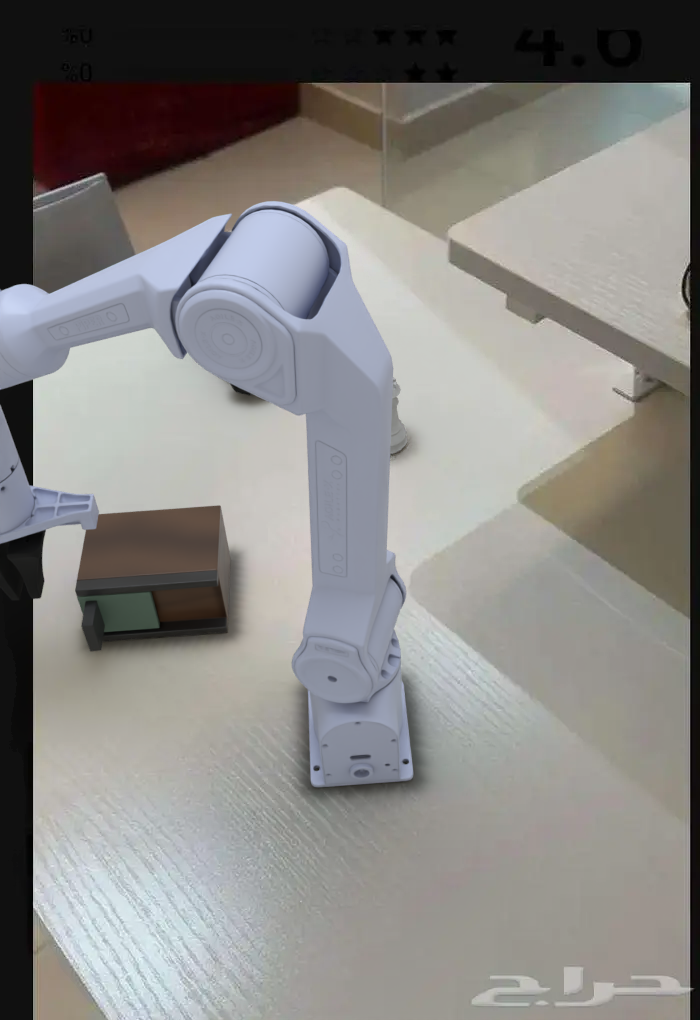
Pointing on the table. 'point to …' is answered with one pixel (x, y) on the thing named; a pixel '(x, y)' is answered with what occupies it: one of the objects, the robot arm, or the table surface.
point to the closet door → (116, 615)
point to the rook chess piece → (396, 423)
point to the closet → (162, 567)
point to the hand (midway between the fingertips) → (28, 590)
